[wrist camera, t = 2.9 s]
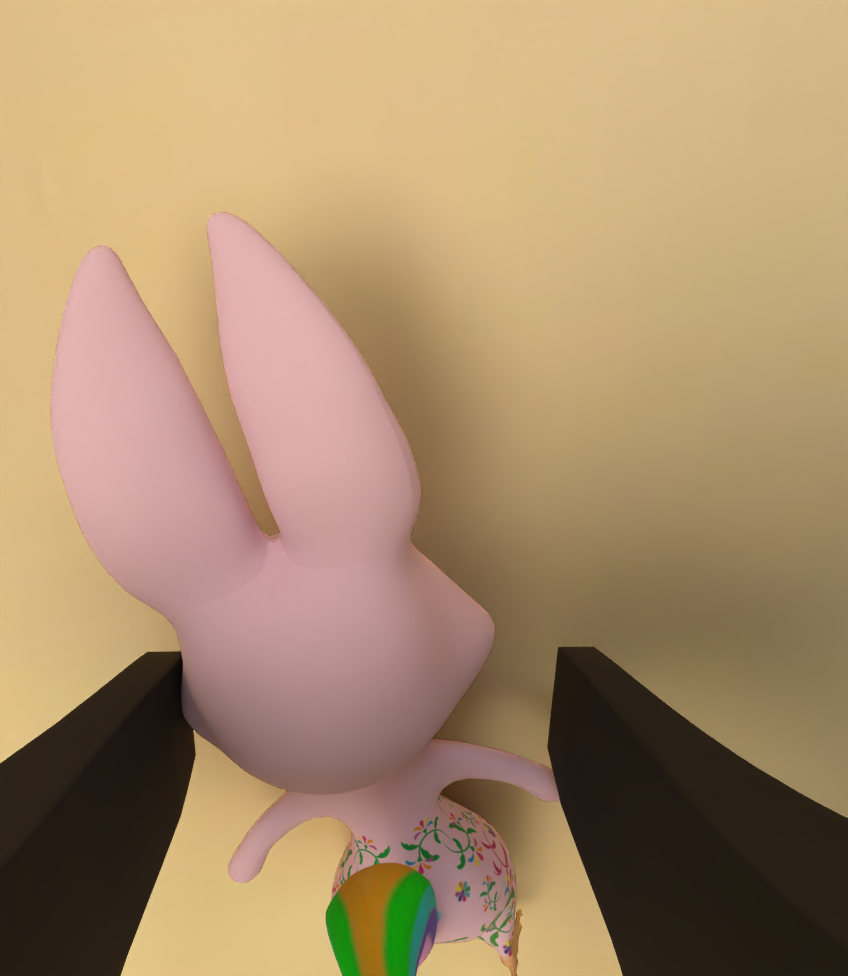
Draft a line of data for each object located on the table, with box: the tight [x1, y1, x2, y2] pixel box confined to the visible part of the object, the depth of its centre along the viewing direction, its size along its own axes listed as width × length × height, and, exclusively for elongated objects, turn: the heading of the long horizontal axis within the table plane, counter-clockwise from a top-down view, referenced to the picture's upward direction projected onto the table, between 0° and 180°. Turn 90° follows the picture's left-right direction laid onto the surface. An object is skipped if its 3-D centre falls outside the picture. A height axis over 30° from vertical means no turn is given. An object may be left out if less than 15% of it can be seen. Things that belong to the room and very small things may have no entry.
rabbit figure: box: [51, 212, 560, 976], centre depth 10 cm, size 6×6×15 cm
